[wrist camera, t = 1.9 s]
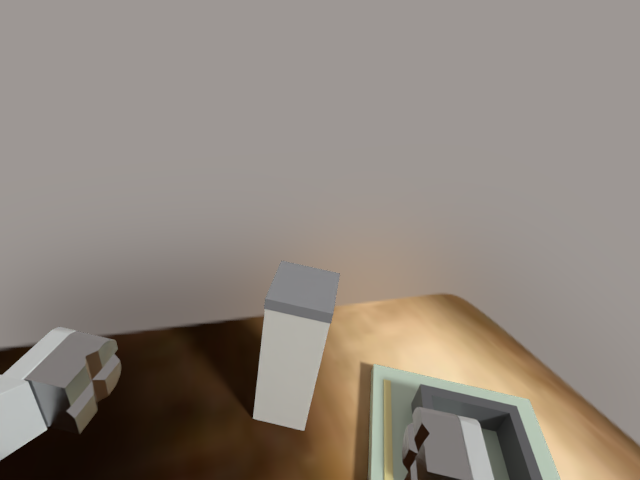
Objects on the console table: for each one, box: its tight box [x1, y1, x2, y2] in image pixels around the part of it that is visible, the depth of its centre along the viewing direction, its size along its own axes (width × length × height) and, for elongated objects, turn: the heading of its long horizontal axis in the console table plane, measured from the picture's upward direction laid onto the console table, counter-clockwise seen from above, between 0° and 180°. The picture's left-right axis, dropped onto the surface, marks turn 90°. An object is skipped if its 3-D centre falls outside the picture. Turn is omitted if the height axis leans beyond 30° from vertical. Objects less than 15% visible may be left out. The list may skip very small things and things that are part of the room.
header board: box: [368, 364, 561, 480], centre depth 26 cm, size 14×14×4 cm
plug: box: [253, 261, 340, 431], centre depth 27 cm, size 4×5×12 cm
